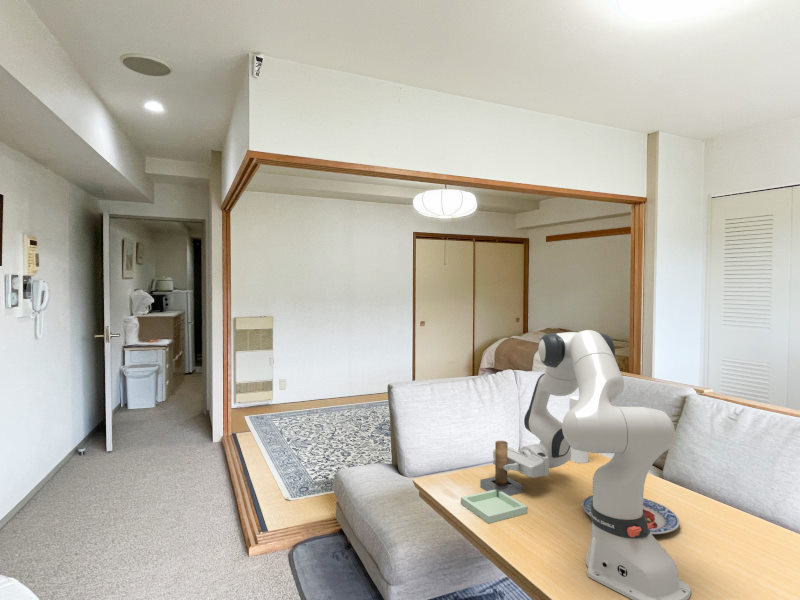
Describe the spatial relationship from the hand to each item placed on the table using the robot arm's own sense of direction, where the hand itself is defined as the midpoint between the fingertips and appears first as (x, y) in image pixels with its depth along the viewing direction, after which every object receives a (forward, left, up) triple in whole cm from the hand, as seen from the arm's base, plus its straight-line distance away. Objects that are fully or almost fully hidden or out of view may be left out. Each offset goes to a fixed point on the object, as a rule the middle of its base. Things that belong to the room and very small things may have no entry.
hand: (499, 465), depth 156 cm
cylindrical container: (+10, -48, -9) cm, 50 cm away
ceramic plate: (-32, -23, -10) cm, 40 cm away
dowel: (0, -1, -9) cm, 9 cm away
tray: (-10, +10, -9) cm, 17 cm away
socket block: (0, -1, -9) cm, 9 cm away
